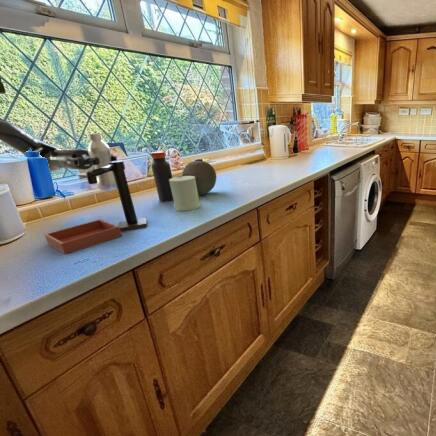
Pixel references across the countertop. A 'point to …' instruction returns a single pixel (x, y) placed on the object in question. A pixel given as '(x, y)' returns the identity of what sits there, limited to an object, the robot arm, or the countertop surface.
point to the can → (184, 193)
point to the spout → (104, 171)
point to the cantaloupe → (201, 175)
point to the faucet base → (127, 204)
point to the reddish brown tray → (82, 236)
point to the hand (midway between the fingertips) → (106, 160)
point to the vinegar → (162, 176)
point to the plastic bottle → (101, 161)
